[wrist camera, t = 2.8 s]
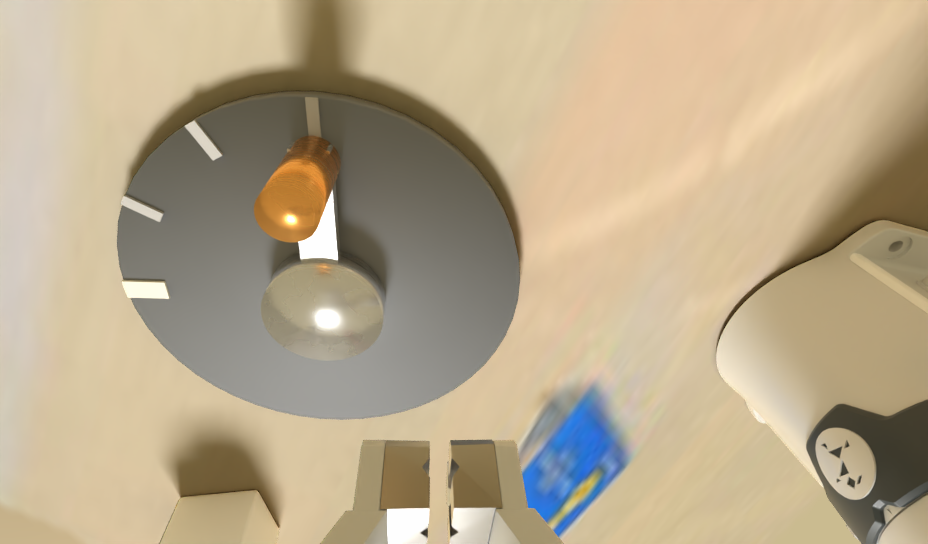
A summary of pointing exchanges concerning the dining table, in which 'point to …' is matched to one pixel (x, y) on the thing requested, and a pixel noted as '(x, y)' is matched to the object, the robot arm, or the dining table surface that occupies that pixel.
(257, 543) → the white square bottle
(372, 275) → the dial
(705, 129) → the dining table surface
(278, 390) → the dial plate
